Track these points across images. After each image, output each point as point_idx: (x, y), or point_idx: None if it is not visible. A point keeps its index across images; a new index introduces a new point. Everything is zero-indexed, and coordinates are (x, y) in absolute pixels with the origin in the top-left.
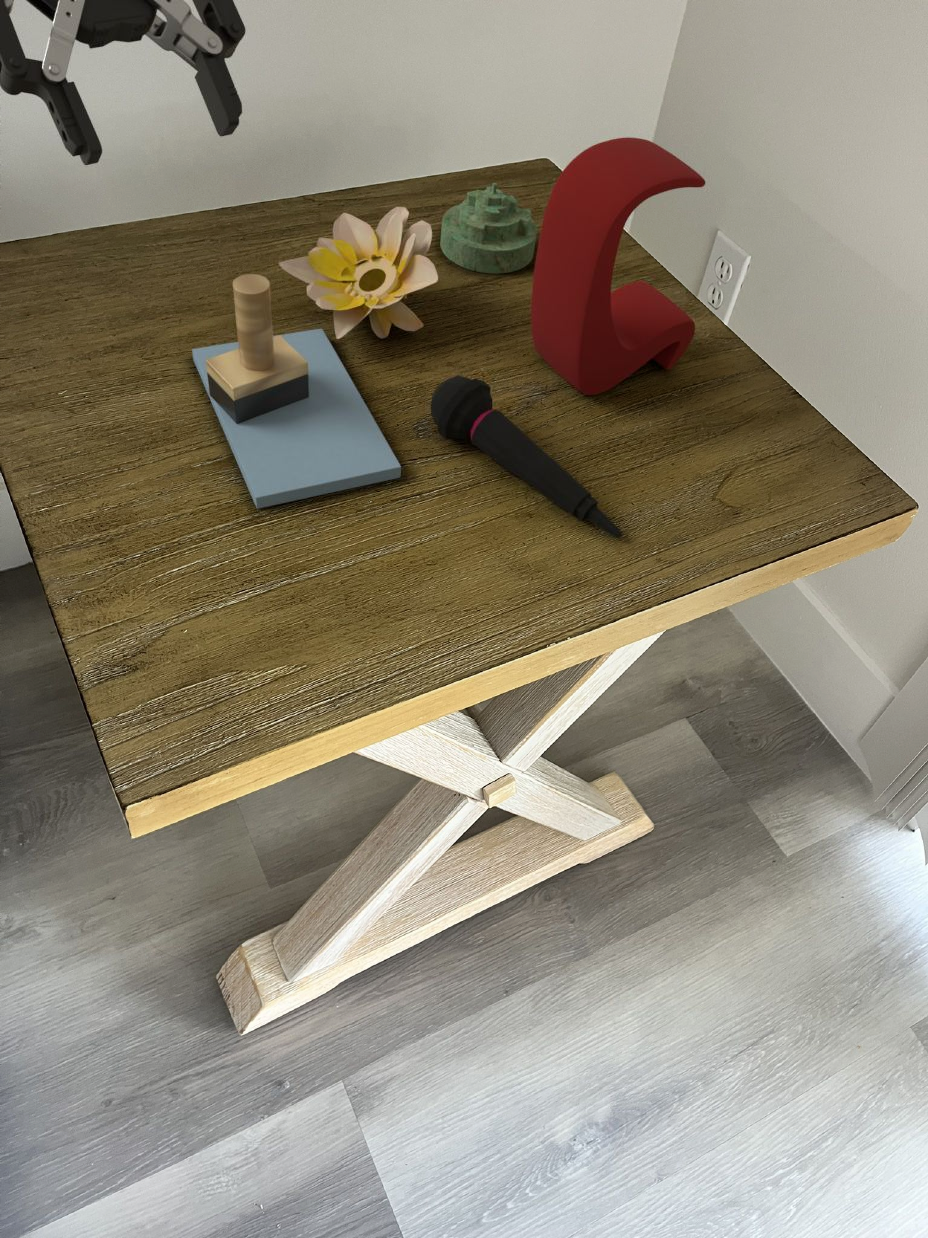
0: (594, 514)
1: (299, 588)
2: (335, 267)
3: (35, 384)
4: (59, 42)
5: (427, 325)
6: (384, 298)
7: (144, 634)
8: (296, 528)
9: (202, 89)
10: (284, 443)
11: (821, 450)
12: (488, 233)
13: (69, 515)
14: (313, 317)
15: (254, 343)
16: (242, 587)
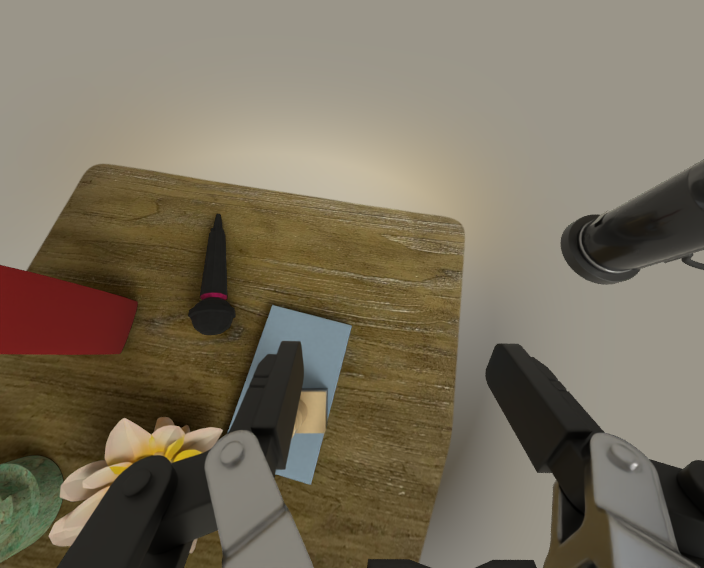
0: (218, 225)
1: (361, 270)
2: None
3: (414, 514)
4: (639, 526)
5: (151, 426)
6: (160, 452)
7: (432, 284)
8: (341, 304)
9: (290, 433)
10: (314, 356)
11: (79, 206)
12: (11, 493)
13: (436, 375)
14: None
15: (298, 405)
16: (383, 285)
